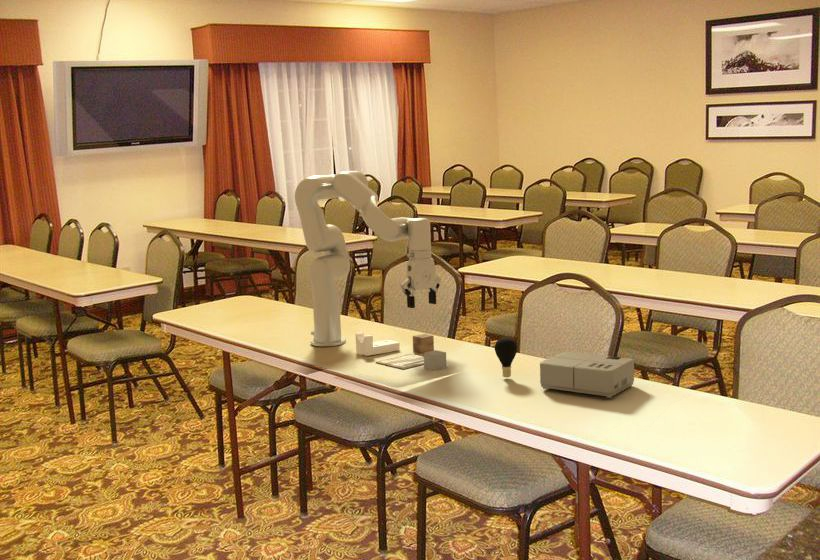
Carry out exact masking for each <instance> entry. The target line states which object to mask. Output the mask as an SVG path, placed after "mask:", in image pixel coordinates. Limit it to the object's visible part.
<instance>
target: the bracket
mask: <svg viewBox="0 0 820 560" xmlns="http://www.w3.org/2000/svg"><path fill="white" fill-rule="evenodd" d="M355 350H356V354H357V355H360V356H366V357H367V356H368V357H369V356H373V355H380V354H385V353H391V352H396V351H400V350H401V349H400V342H399V341H394V340H391V339H384V340H377V341H374V335H372V334H370V335H369V334H368V335H364V332H356V333H355Z"/></svg>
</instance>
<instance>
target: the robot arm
mask: <svg viewBox="0 0 820 560" xmlns="http://www.w3.org/2000/svg"><path fill="white" fill-rule="evenodd" d="M339 198H342V199H343V200H344V201H346V202H347V203H348V204H349V205H351V206H352V207H353V208H354V209H356V210H357V212H359V213H360V214H361V217H362V219H363V221H364V223H365V224H366V226H367V227H368V228H369V229H370V230H371V231H372V232H373V233H374V234H376V235H377V236H378V237H379V238H381V239H382V240H383V241H386V242H391V243H392V242H397V241H403V240H407V243H408V246H407V247H408V253H406V256H407V258H408V260H407V264H406V279H405V280H404V281H403V282H401V283H400V288H401V290H402V292H403V294H404V295H405V297H406V304H407V305H406V306H407V308H411V309H414V308H416V302H415V299H416V298H415V296H414V294H415V292H416V291H421V290H429V291H428V304H431V305H436V304H437V292H438V290H439V288H440V284H441V282H442V278H441V277H439V276H438V275H437V269H436V265H435V260H434V258H432V242H431V239H432V237H431V235H432V234H431V222H430V219H428V218H426V217H415V218H413V217H412V218H411V217H402V216H401V217H400V216H399V217H394V218H390V216H388V215H387V214H385V213H384V212H383V211H382V210H381V208H379V207H378V205H377V204H378V201H379V196H378V194H377V193H376V192H375V191H374V190H373V189H371V188H370V187H369V181H368V178H367V177H366V175H365V174H364V173H363V172H361V171H359V170H346V171H345V170H344V171H340V172H339V173H336V174H327V175H326V174H325V175H311V176H307V177H304V179H302V180H301V181H300V182H299V183H298V184H297V186H296V188H295V192H294V202H295V206H296V209H297V212H298V215H299V219H300V223H301V228H302V232H303V236H304V241H305V245H306V248H307V249H308V250H309V252H311V253H315V254H318V253H324V255H320V256H317V257H315V258H313V259H312V260H311V262H310V263H309V266H308V270H307V272H308V278H309V280H310V281H309V282H310V287H311V295H312V296H311V297H312V308H313V309H312V310H313V311H312V312H313V331H311V332H310V335H311V336H313V339H311V340H310V345H312V346H314V347H336V346H340V345H343V344H345V343H346V341H347V339H346V338H345V337H343V336H342V326H341V325H342V324H341V307H340V306H341V305H340V294H339V288H338V286H337V283H336V281H339V280H341V279H344V278H345V277H347V276H348V275H349V272H350V269H351V262H350V257H349V253H348V250H347V249H348V248H347V245H346V239H345V237H344V234H343V231H342V230H341V229H340V228H339V227H338V226H336V225H335V224H327V221H326V219H325V214H324V211H323V209H322V207H321V206H320V204H319V203H318V201H319V200H330V199H339Z"/></svg>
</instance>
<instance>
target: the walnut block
mask: <svg viewBox="0 0 820 560" xmlns="http://www.w3.org/2000/svg"><path fill="white" fill-rule="evenodd" d="M434 342H435V341H434V335H431V334H427V333H420V334H416V335H412V350H413V353H418V354H423V355H424V353H425V352H430V351H434V350H435V346H434V345H435V344H434Z"/></svg>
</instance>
